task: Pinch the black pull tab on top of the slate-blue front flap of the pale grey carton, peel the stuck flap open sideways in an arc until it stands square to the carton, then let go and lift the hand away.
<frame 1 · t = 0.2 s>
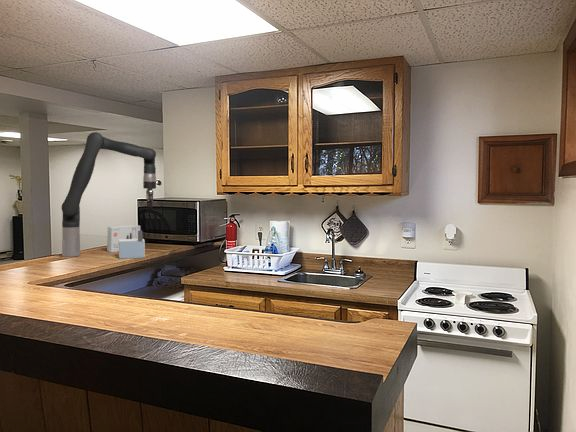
hand: (149, 206, 277), 29 cm above the counter, fingers open, 8 cm apart
carton: (131, 256, 263), on the counter
skincare box: (124, 250, 287), on the counter
front flap: (132, 244, 257), point 8 cm above the counter, hinge at 0.0°
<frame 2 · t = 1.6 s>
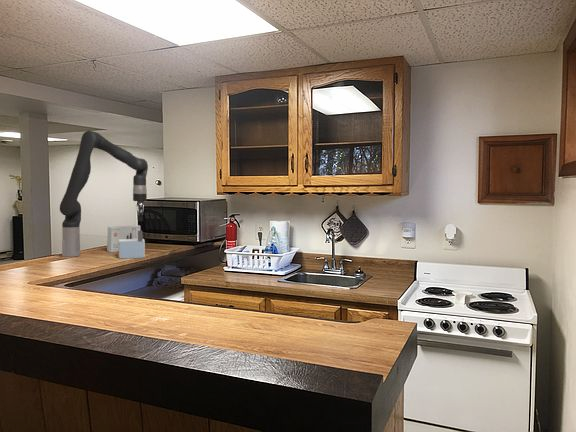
hand: (140, 220, 258), 22 cm above the counter, fingers open, 8 cm apart
nothing on the counter moved.
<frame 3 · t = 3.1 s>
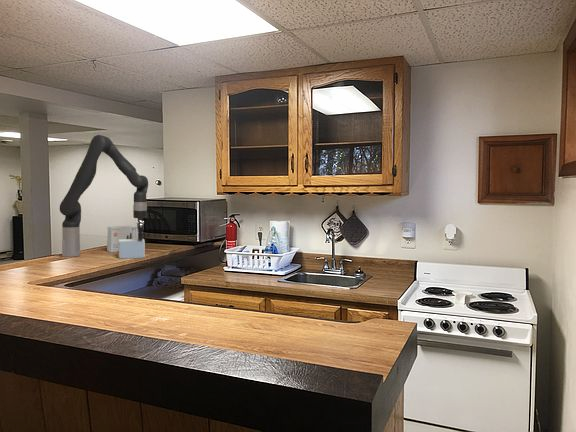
hand: (140, 239, 259), 11 cm above the counter, fingers closed
front flap: (132, 244, 257), point 8 cm above the counter, hinge at 0.0°, touching gripper
everything else where it was.
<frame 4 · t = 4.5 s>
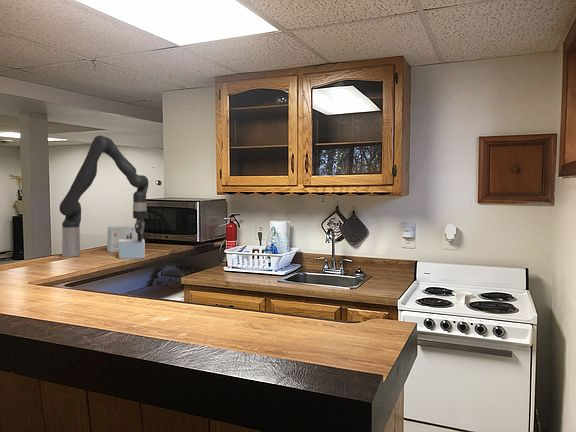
hand: (140, 239, 256), 11 cm above the counter, fingers closed
front flap: (131, 244, 256), point 8 cm above the counter, hinge at 15.3°, touching gripper
everything else where it was.
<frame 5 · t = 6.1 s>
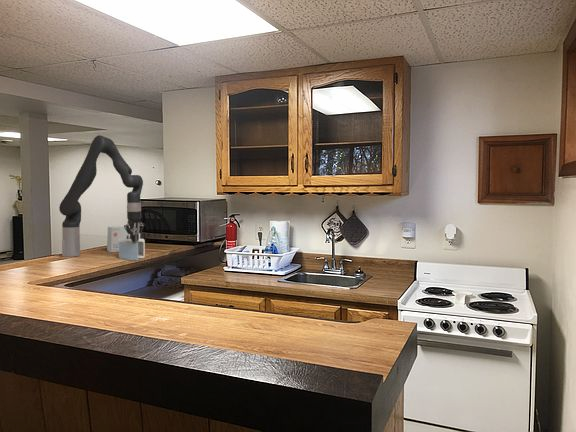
hand: (135, 241, 250), 11 cm above the counter, fingers closed
front flap: (128, 245, 252), point 8 cm above the counter, hinge at 46.8°, touching gripper
everything else where it was.
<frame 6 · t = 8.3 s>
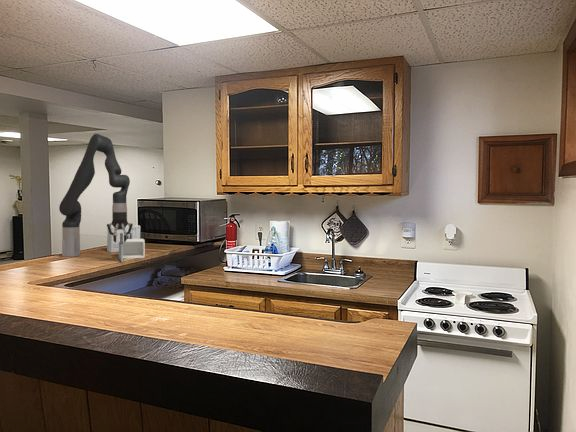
hand: (120, 242, 244), 11 cm above the counter, fingers open, 4 cm apart
front flap: (120, 246, 248), point 8 cm above the counter, hinge at 85.9°
everything else where it was.
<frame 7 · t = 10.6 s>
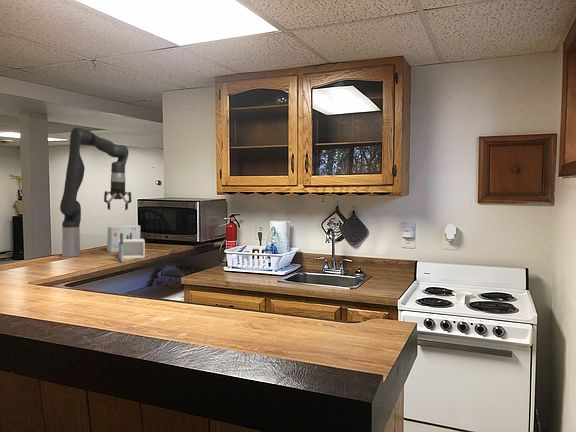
hand: (117, 210, 246), 29 cm above the counter, fingers open, 8 cm apart
nothing on the counter moved.
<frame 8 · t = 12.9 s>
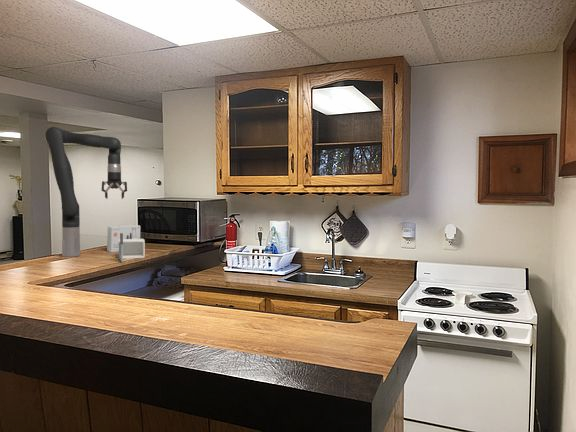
hand: (114, 198, 264), 34 cm above the counter, fingers open, 8 cm apart
nothing on the counter moved.
at the end: front flap at +86° (first picture: +0°); the gripper is holding nothing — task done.
